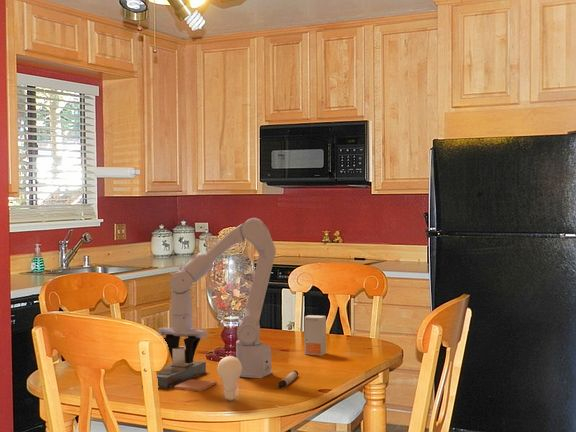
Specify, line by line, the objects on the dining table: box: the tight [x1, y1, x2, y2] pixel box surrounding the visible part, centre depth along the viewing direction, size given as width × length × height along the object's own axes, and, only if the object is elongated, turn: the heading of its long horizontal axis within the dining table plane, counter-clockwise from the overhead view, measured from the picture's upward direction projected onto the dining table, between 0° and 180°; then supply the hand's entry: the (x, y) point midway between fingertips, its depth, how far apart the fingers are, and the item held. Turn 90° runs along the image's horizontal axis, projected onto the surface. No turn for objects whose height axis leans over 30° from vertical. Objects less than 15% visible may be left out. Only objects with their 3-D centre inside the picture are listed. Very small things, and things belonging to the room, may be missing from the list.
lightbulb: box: [216, 355, 242, 401], centre depth 195 cm, size 6×6×11 cm
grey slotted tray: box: [157, 360, 207, 390], centre depth 218 cm, size 8×20×3 cm, turn 156°
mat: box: [173, 378, 217, 392], centre depth 209 cm, size 8×8×1 cm
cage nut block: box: [172, 345, 192, 368], centre depth 221 cm, size 4×4×8 cm
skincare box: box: [303, 314, 327, 357], centre depth 248 cm, size 6×4×12 cm
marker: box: [277, 369, 299, 389], centre depth 212 cm, size 15×2×2 cm, turn 164°
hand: (182, 362), depth 221 cm, fingers open, 4 cm apart
